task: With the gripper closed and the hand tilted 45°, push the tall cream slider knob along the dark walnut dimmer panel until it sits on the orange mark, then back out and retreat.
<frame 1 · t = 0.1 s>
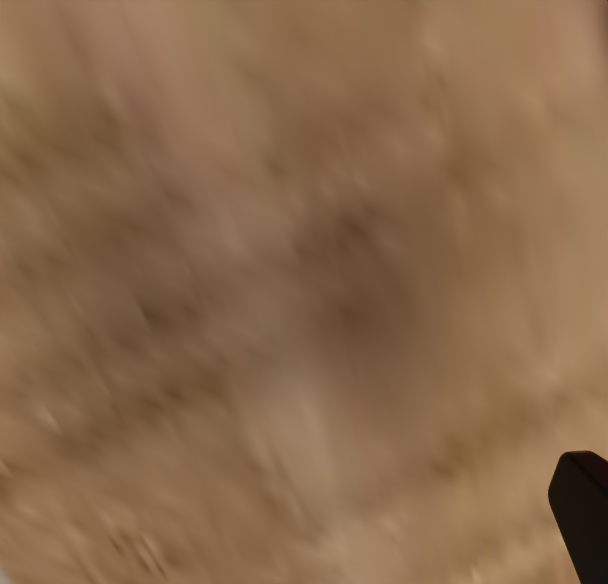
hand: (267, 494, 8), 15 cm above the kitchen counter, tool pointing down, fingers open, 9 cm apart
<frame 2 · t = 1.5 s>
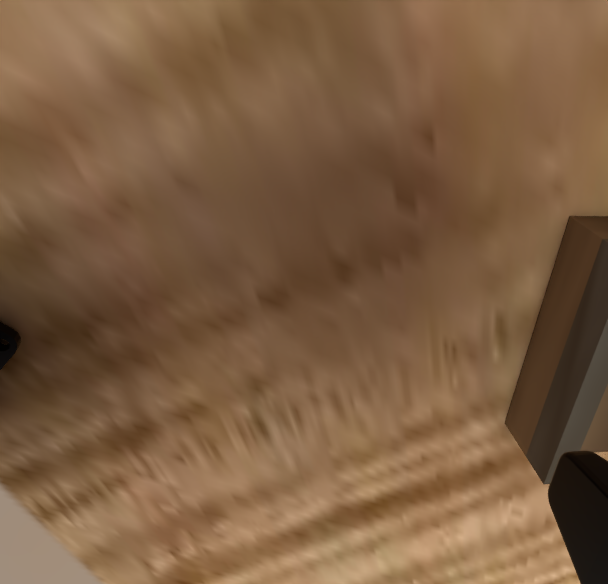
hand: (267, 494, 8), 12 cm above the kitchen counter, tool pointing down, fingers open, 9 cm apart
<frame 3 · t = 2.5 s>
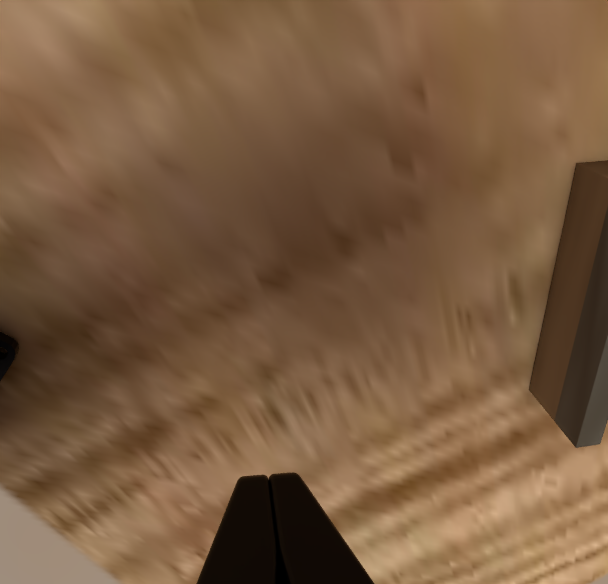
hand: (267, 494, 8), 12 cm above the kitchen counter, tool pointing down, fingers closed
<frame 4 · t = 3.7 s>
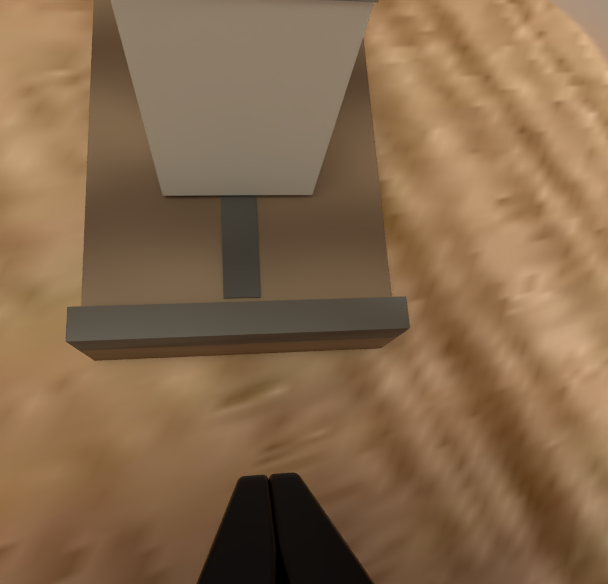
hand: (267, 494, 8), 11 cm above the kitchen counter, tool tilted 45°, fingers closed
slider knob: (239, 41, 15), point 7 cm above the kitchen counter, slide at 0.0 cm
dimmer panel: (233, 105, 22), on the kitchen counter
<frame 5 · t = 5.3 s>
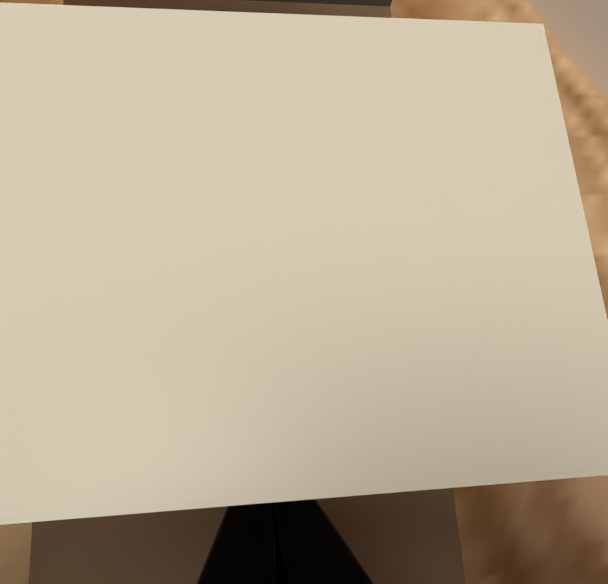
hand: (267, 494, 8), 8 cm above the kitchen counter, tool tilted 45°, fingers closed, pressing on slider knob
slider knob: (258, 344, 9), point 7 cm above the kitchen counter, slide at 0.2 cm, touching gripper
dimmer panel: (242, 297, 17), on the kitchen counter
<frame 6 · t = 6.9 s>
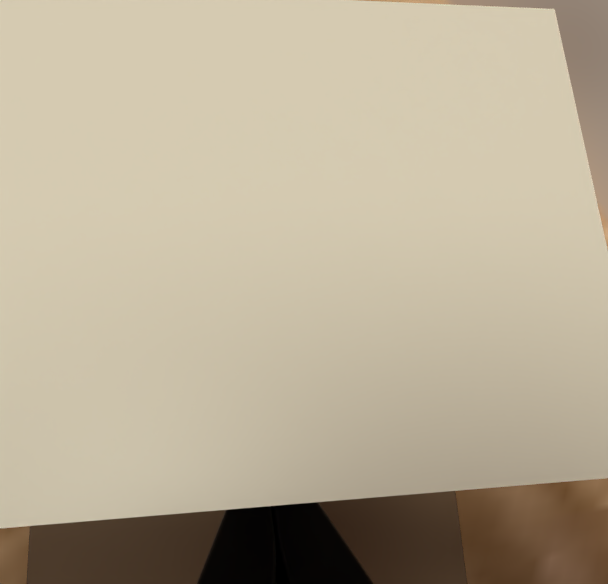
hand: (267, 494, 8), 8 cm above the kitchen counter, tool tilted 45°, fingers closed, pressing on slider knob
slider knob: (259, 341, 9), point 7 cm above the kitchen counter, slide at 7.2 cm, touching gripper
dimmer panel: (252, 547, 15), on the kitchen counter
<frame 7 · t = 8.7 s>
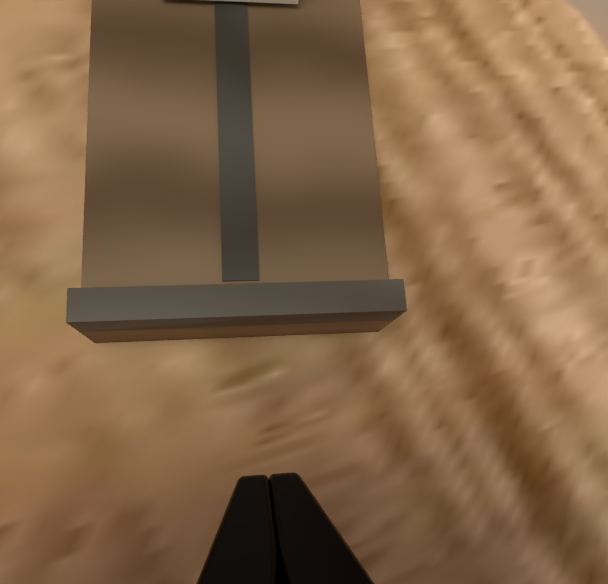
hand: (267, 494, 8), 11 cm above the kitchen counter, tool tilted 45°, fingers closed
dimmer panel: (232, 90, 22), on the kitchen counter
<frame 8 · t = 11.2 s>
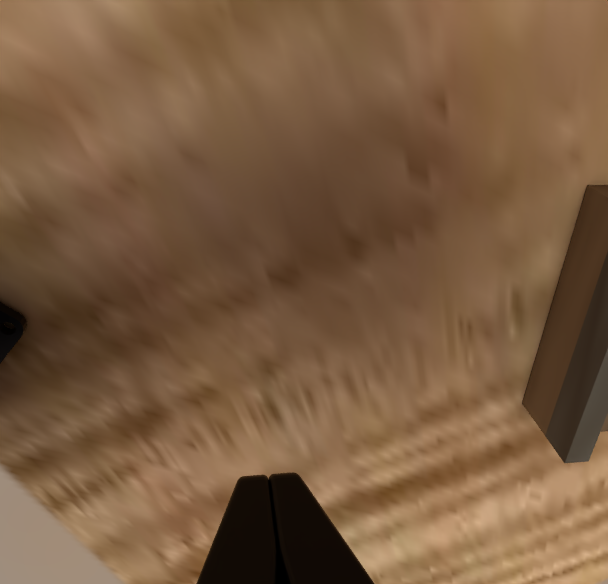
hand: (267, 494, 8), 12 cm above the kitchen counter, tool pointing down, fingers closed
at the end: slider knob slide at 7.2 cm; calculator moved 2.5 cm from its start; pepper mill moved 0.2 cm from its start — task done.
